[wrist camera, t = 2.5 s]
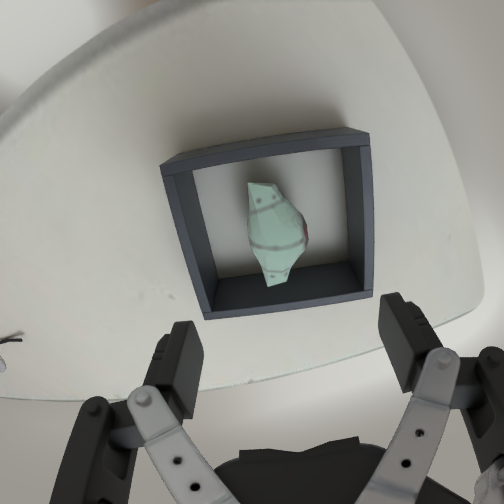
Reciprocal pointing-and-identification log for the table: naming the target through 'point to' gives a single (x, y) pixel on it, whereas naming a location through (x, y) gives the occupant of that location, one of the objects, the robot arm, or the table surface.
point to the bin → (299, 280)
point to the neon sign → (0, 364)
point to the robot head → (274, 231)
